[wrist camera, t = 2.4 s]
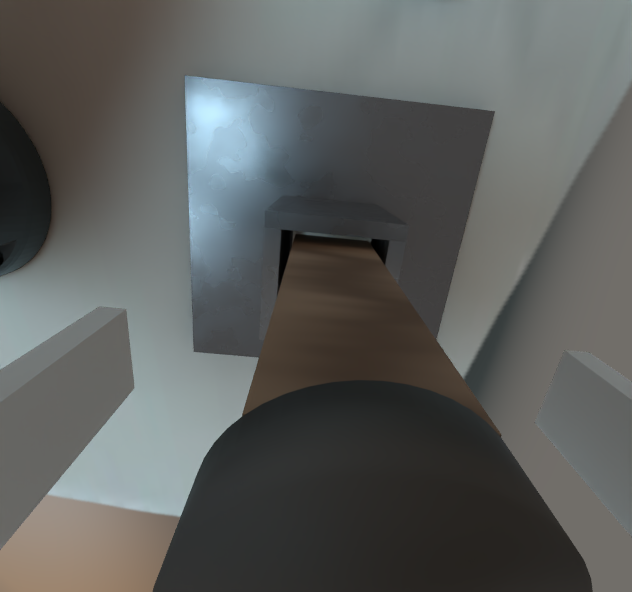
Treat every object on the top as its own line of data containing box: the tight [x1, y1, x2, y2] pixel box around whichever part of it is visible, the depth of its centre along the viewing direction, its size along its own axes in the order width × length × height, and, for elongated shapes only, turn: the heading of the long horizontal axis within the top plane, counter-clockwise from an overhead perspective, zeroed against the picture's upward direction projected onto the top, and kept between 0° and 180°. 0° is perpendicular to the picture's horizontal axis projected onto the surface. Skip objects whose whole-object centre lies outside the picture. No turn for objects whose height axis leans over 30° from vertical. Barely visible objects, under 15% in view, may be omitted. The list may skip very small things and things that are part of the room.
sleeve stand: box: [185, 76, 495, 357], centre depth 22 cm, size 20×20×10 cm
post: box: [153, 231, 592, 592], centre depth 14 cm, size 6×6×22 cm
